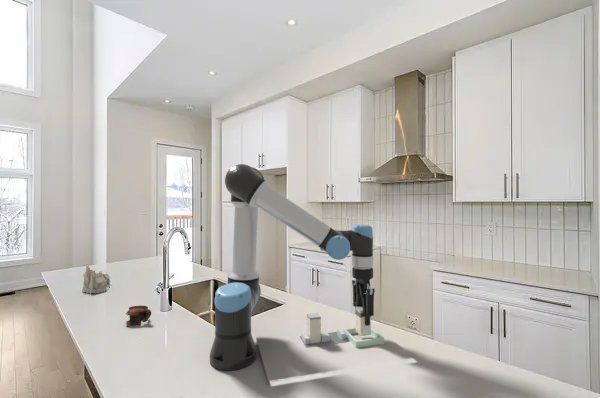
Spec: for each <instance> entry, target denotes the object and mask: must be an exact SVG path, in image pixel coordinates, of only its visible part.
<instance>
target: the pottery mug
mask: <svg viewBox="0 0 600 398" xmlns="http://www.w3.org/2000/svg"><path fill="white" fill-rule="evenodd" d="M128 309H129V310H128V311H127V312H126V313H125V315H127V316H129V317H128V318H129V320H126V322H125V323H126V324H125V325H126V327H135V326H136V327H139V326H141V325H142V322H143V323H146V322H148V320H149V319H150V317H151V315H152V310H151V309H149V307H148V306H146V305H134V306H129V307H128Z"/></svg>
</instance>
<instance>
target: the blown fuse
mask: <svg viewBox="0 0 600 398" xmlns="http://www.w3.org/2000/svg"><path fill="white" fill-rule="evenodd" d="M354 309H355V308H354ZM354 312H355V313H354V314H355V327H356V332H357V333H356V334H358V335H359V336H360V337H362V336H364V337H365V336H370V335H372V334H371V325H372V324H371V320H372V319H371V318H372V316H370V334H362V315H363V306H360V307H356V309H355V311H354Z"/></svg>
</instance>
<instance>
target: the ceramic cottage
mask: <svg viewBox="0 0 600 398" xmlns="http://www.w3.org/2000/svg"><path fill="white" fill-rule="evenodd" d="M85 267H86V268H85V271H84V273H83V276H82V277H83V284H82V285H83V286H82V290H81V292H82V293H83V292H86V293H85V294H88V293H98V294H101V293H100V292H102V293H104V292H103V291H105V292H107V291H106V290H108V289H109V287H110V286H112V284H110V283H111V280H110V279H111V277H110V276H109V274H108V273H103V271H102V270H99V271H98V272H96V270H94V269H90V267H89V265H86V266H85ZM109 290H110V289H109ZM109 290H108V291H109Z"/></svg>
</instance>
